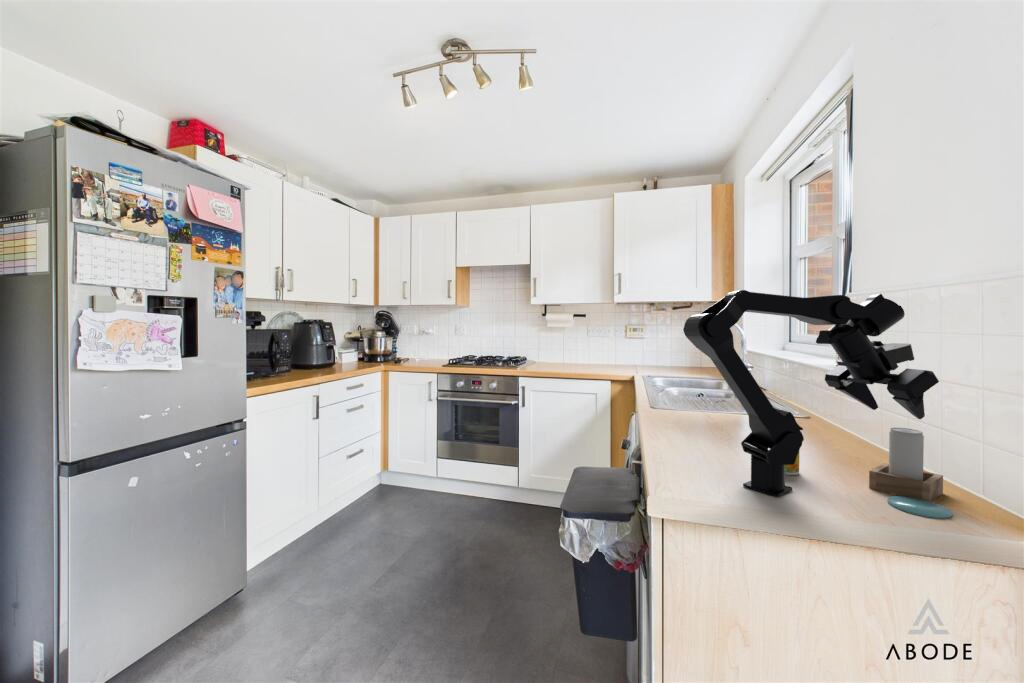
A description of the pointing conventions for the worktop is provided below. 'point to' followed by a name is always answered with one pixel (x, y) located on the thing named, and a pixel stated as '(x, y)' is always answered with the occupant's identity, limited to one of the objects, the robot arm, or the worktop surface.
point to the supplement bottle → (793, 467)
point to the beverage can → (906, 453)
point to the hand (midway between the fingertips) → (897, 413)
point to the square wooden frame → (906, 484)
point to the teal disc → (919, 507)
